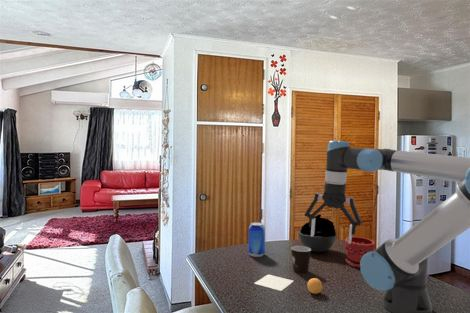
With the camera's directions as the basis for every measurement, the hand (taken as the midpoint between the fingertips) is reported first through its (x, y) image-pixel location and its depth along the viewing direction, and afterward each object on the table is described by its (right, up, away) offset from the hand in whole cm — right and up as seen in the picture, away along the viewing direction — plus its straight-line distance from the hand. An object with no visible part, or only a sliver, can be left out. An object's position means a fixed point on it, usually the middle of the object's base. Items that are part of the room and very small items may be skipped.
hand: (330, 239), depth 122 cm
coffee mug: (-6, -21, +25) cm, 33 cm away
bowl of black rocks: (+8, -20, +54) cm, 59 cm away
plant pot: (+23, -21, +33) cm, 46 cm away
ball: (-6, -18, +1) cm, 19 cm away
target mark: (-20, -20, +11) cm, 30 cm away
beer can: (-25, -20, +46) cm, 56 cm away
